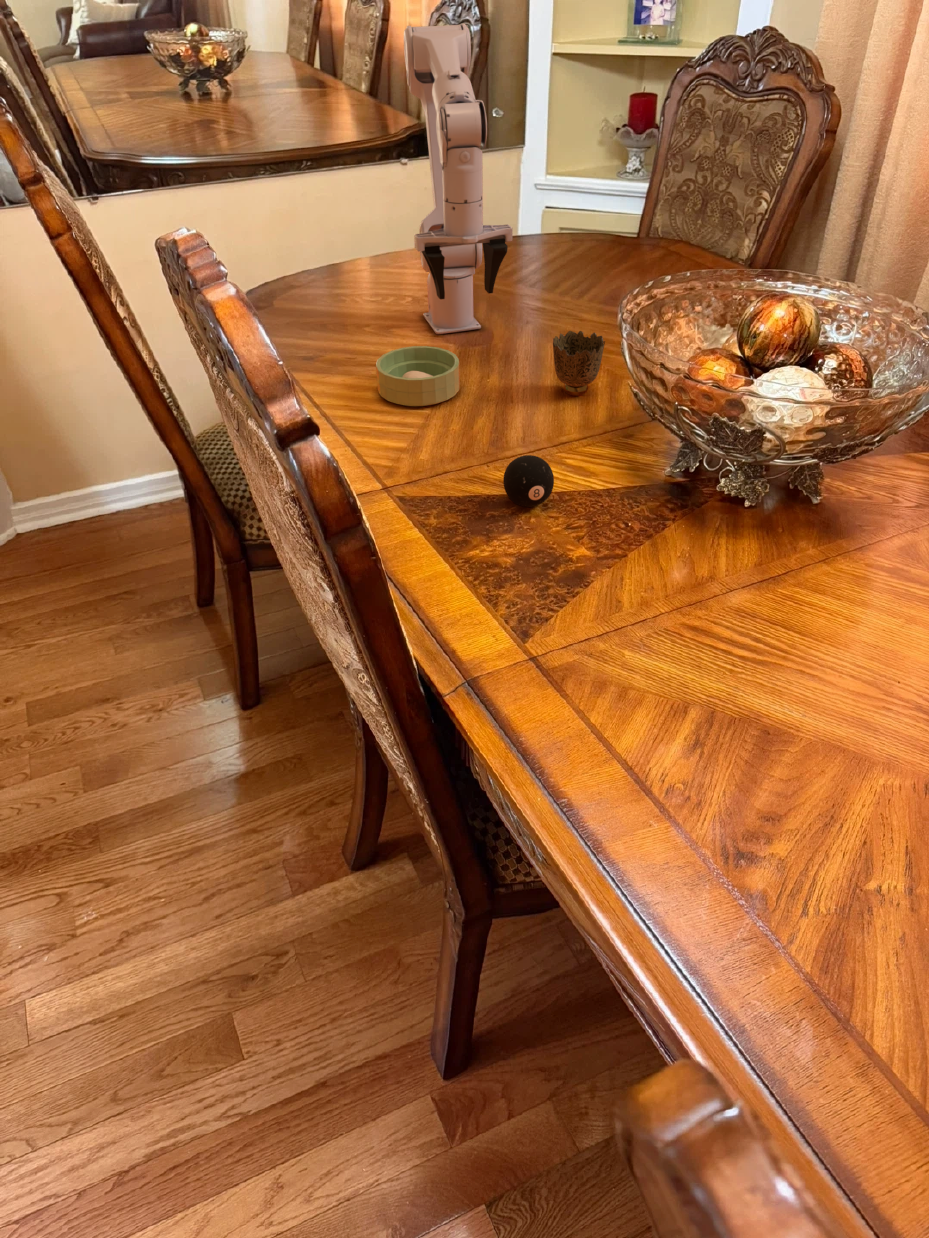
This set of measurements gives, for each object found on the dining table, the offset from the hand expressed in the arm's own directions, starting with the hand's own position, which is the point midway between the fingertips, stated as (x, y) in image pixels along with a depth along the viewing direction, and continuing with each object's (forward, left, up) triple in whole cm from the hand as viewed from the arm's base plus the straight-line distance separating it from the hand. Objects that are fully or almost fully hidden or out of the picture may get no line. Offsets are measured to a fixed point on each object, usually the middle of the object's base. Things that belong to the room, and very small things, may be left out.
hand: (464, 294), depth 136 cm
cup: (+17, +12, -11) cm, 23 cm away
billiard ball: (+44, -5, -11) cm, 45 cm away
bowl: (+9, -10, -10) cm, 17 cm away
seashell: (+9, -10, -10) cm, 17 cm away
